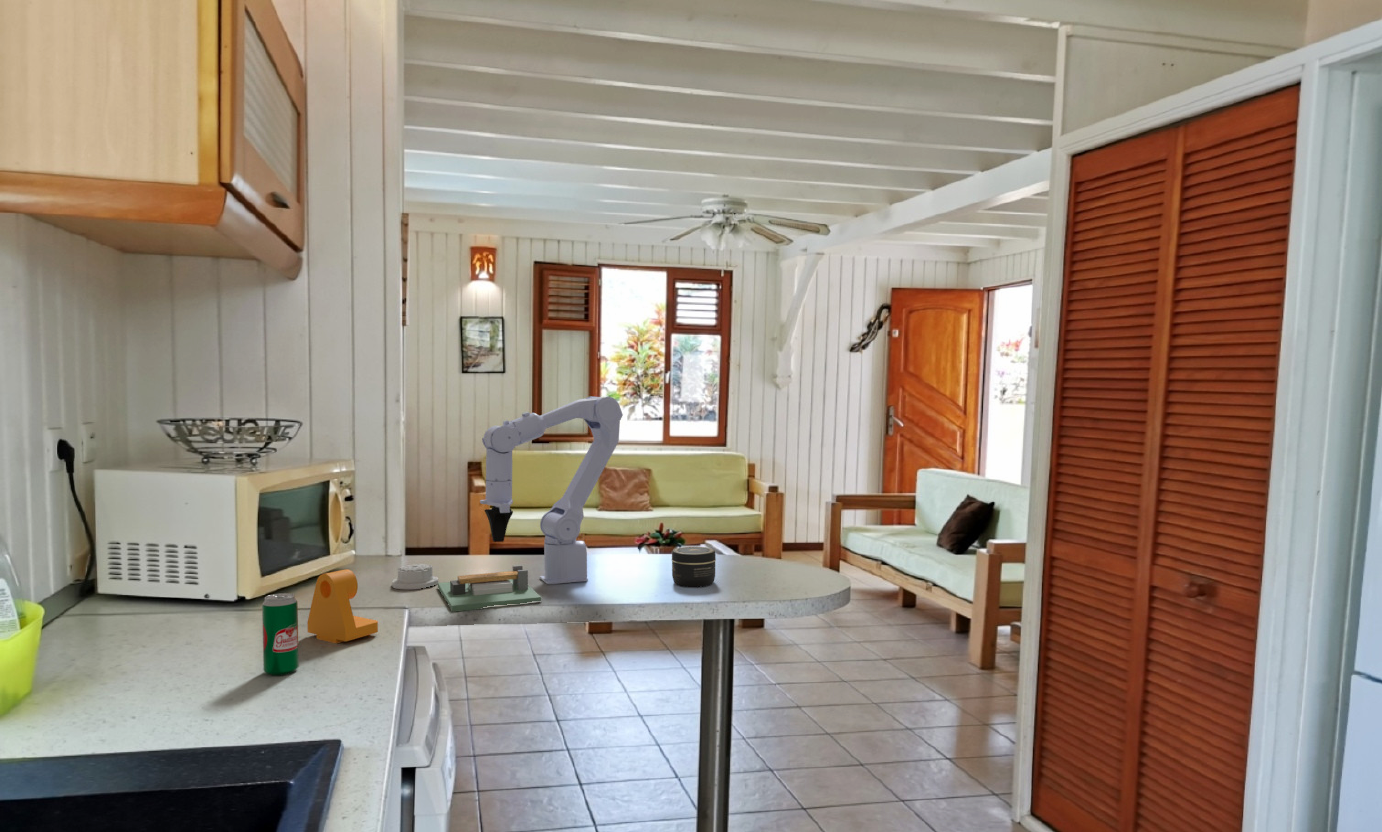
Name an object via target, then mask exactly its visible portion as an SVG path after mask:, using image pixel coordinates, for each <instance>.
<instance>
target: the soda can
mask: <svg viewBox="0 0 1382 832" xmlns="http://www.w3.org/2000/svg"><path fill="white" fill-rule="evenodd" d="M295 596H296V595H295V594H294V593H289V592H283V593H274V594H270V595H267V596H265V597H264V601H263V603H262V604H261V606H262V607H261V611H262V612H261V613H262V615H261V616H262V620H261V621H262V659H263V661H262V662H263V672H264V673H265V674H267V675H268V676H276V677H278V676H286V675H289V674H292V673H294V672H296V671H297V669H298V668H299V666H300V664H299V663H300V660H299V658H300V657H299V653H300V652H299V618H298V616H299V615H298V613H299V610H298V600H297V599H296V597H295Z"/></svg>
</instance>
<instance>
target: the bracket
mask: <svg viewBox="0 0 1382 832" xmlns="http://www.w3.org/2000/svg"><path fill="white" fill-rule="evenodd" d="M315 583H316V584H315V586H314V587H315V588H314V591H313V596H312V599H311V605H310V609H309V614H308V617H307V621H306V622H307V624H306V625H307V633H310V634H314V635H316V640H320V641H325V642H328V643H333V644H339V643H342V642H349V641H353V640H355V639H360V638H362V637H366V636H369V635H372V634H377V633H379V621H378V620H376V619H371V618H367V617H362V616H361V617H360V616H356V615H354V614H353V610H352V606H351V603H350V600H352V599H354V598H355V596H357V593H358V587H359V586H358V579H357V577H356V575H355V573H354V571H352V570H351V569H348V568H347V569H342V570H337V571H331V572H326V573H322V574H320V575H319V576H318V577H317V579H316V582H315Z"/></svg>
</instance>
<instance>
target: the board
mask: <svg viewBox="0 0 1382 832" xmlns="http://www.w3.org/2000/svg"><path fill="white" fill-rule="evenodd" d="M516 570H518V579H510V580H499V581H489V582H478V583H467V584H460V583H459V582H458V579H457V580H450V581H446V582H438V584H437V589H438V588H439V589H438V591H439V590H440V591H439V592H441V593H442V594H441V593H440V594H441V596H442V595H443V596H444V598H445V599H446V601H447V602H448V604H449V606H450V608H449V609H450V611H451V612H452V613H453V612H464V611H472V610H473V611H474V610H481V608H483V607H487V606H494V605H507V604H520V603H527V602H532V601H541V602H542V596H540V594H539V593H537V592H536V591H535V590H534V589H533V588H532V587H531V586H530V585H529V571H528V569H523V565H522V564H517V565H512V571H516ZM443 596H442V597H443ZM444 598H443V599H444ZM445 599H444V600H445ZM446 601H445V602H446ZM448 604H447V605H448ZM449 606H448V607H449Z"/></svg>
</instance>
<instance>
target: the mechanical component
mask: <svg viewBox="0 0 1382 832" xmlns="http://www.w3.org/2000/svg"><path fill="white" fill-rule="evenodd" d="M433 570H434V569H433V566H432V565H431V564H425V563H417V564H416V563H415V564H407V565H403V566H399V567H397V578H394V579H393V580H392V581H391V585H392V588H394V589H396V590H397V589H398V590H409V591H410V590H420V589H421V588H423V589H427V588H426V587H429V588H431V587H430V586H433V585H435V586H438V583H439V577H438V576H434V575H433ZM433 587H434V586H433ZM421 590H422V589H421Z"/></svg>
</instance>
